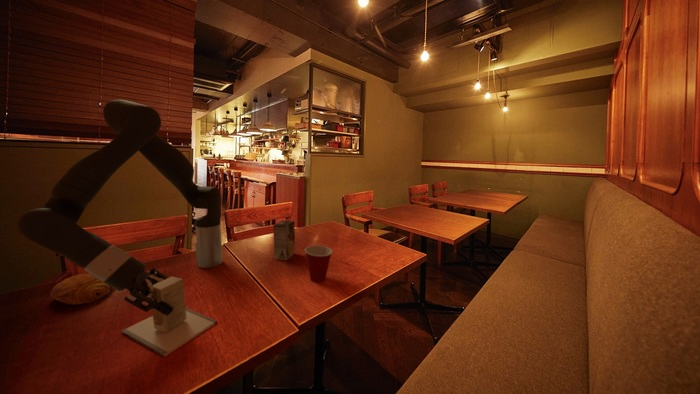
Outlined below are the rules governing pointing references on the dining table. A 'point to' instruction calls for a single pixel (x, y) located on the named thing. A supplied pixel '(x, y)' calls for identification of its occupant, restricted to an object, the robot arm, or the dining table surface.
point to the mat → (169, 332)
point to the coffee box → (284, 240)
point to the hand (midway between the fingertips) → (175, 303)
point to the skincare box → (170, 303)
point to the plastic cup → (318, 262)
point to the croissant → (80, 289)
